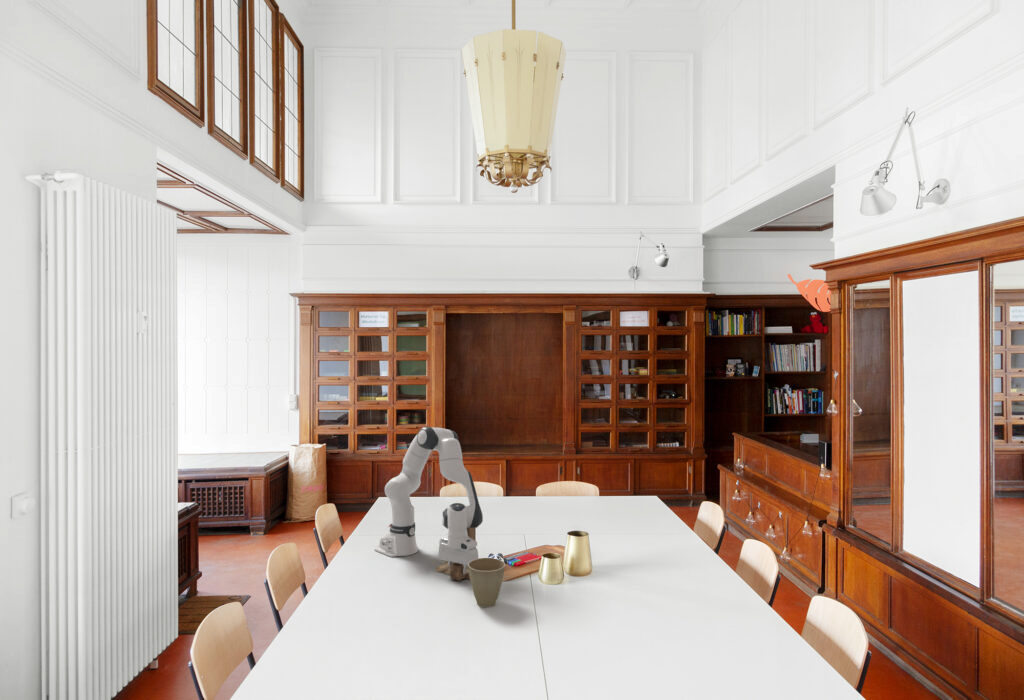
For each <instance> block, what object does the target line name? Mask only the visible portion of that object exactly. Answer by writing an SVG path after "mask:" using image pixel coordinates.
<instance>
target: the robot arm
mask: <svg viewBox="0 0 1024 700" xmlns="http://www.w3.org/2000/svg"><path fill="white" fill-rule="evenodd" d="M433 451H436V452H438V459H439V461H438V463H439V465H438V466H439V470H440V474H441V475H442V477H444V478H445V479H446V480H448V481H451V482H453V483H457V484H459V485H461V486H463V487H464V489H465V490H466V495H467V500H468V505H465V504H464V503H461V502H454V503H452V504H450V505H449V506H448V507H446V508H445V509H444V510H443V511H442V526H444V528H446V529H448V530H447V538H445V537H443V538H440V540H439V541H438V542H439V546H438V554H437V555H438V558H439V560H443V561H445V562H447V561H448V565H449V567H450V565H451V564H453V563H452V562H455V563H459V564H463V567H464V569H462V570H461V573H462V574H466V569H467V568H468V564H469V562H471V561H472V560H475V559H479V551H478V548H477V546H478V541H475V540H473V539H471V538H470V537H469V536H468V533H467V528H476V529H478V527H479V526H481V525H482V523H483V521H484V515H483V511H482V509H481V506H480V502H479V497H478V495H477V490H476V487H475V481H474V478H473V477H472V473H471V472H470V471H469V470H467V468H465V466H464V462H463V460H464V459H463V452H462V446H461V444H460V441H459V436H458V434H457V432H455V431H454V430H453V429H452V430H451V429H447V428H443V427H432V426H424V427H422V428H420V429H419V430H418V432H417V434H416V435H415V436H414V438H413V440H412V441H411V442H410V445H409V447H408V449H407V450H406V452H405V455H404V457H403V459H402V470H401V471H400V473H399V474H398V475H397V476H394V477H393V478H391V479H390V480H389V481H388V482H386V484H385V486H384V494H385V496H386V497H387V498H388V499H389V503H390V506H391V520H392V521H391V523H390V524H389V525H387V526H388V528H389V530H388V531H386V533H385V534H384V535H382V536H381V537H380V539H379V544H378V545H377V546H375V548H374V551H376V552H378V553H380V554H382V555H384V556H387V557H389V558H393V557H404V556H405V557H407V556H410V555H411V556H412V555H414V554H416V553H417V552H418V550H419V549H418V545H417V537H416V522H415V506H414V505H413V504H412V500H411V495H412V494H413V493H415V492H416V491H417V490H418V489H419V488H420V486H421V484H422V483H421V481H422V480H421V479H422V478H421V477H422V473H423V470H424V469H425V465H426V464H427V462H428V459H429V457H430V455H431V453H432V452H433Z"/></svg>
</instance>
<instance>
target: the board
mask: <svg viewBox="0 0 1024 700" xmlns="http://www.w3.org/2000/svg"><path fill="white" fill-rule="evenodd" d="M452 563H455V562H452ZM436 572H439V573H444V574H448V575H450V567H449V565H448V561H444V562H443V563H441V564H438V565H437V566H436ZM464 579H467V580H470V575H469V568H467V569H466V577H465V578H464Z"/></svg>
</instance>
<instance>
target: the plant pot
mask: <svg viewBox="0 0 1024 700" xmlns="http://www.w3.org/2000/svg"><path fill="white" fill-rule="evenodd" d="M468 568H469V575H470V579H469V581H470V584H471V589H472V593H473V595H474V598H475V602H476V604H477V605H478V606H479V607H483V608H491V607H494V606H495V605H496V604H497V601H498V599H499V594H500V591H501V588H502V584H503V580H504V574H505V569H506V563H505V562H504V561H503V560H501V559H499V558H494V557H480V558H479V557H478V559H475V560H472V561H471V562H469V564H468Z"/></svg>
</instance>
